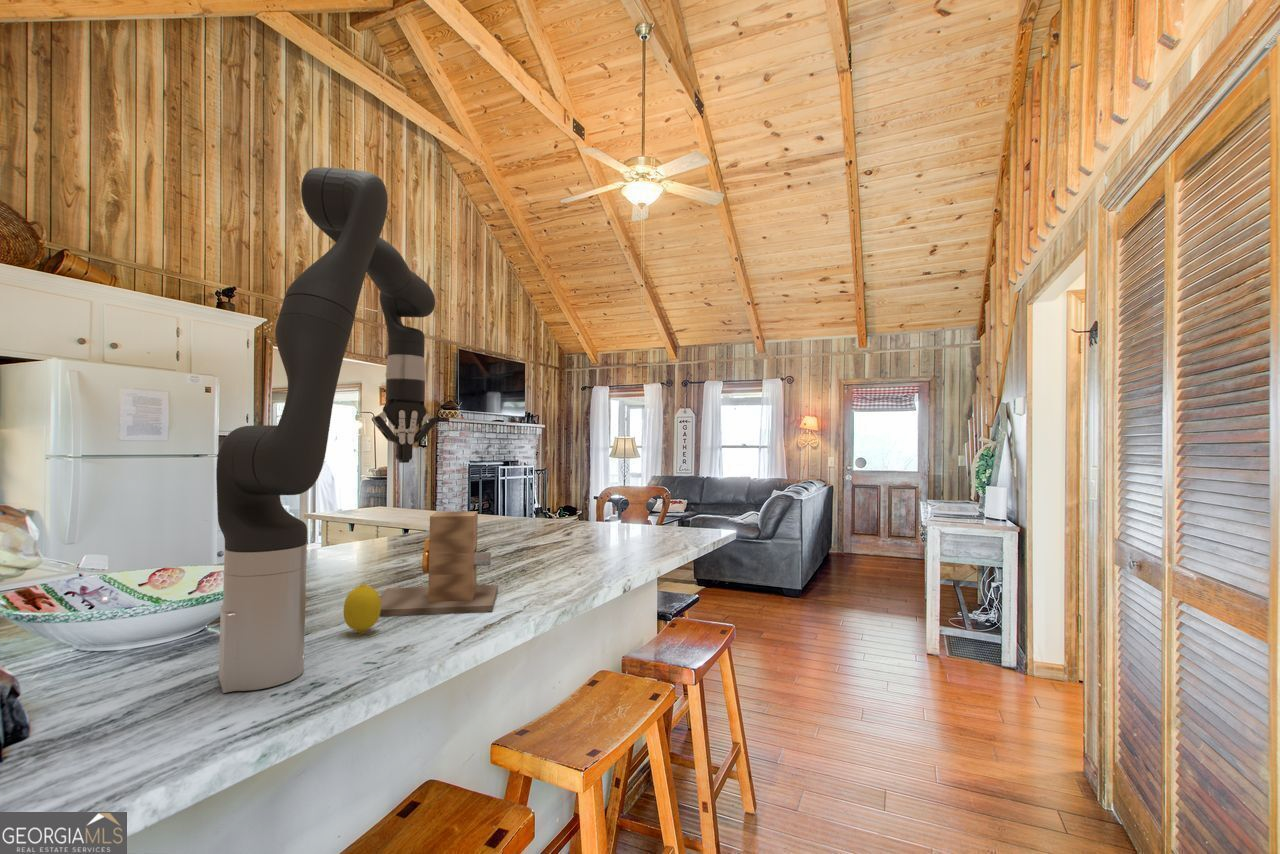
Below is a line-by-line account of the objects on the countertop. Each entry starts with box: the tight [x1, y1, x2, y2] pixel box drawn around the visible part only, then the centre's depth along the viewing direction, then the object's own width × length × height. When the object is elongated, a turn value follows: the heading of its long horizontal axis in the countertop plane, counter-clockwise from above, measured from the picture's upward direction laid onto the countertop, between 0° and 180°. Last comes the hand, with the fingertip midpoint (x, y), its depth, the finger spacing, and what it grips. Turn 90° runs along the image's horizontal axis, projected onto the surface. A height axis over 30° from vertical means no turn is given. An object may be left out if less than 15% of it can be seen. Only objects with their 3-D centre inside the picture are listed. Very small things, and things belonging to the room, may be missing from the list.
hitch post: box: [379, 510, 499, 618], centre depth 114 cm, size 22×16×17 cm
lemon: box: [342, 583, 381, 634], centre depth 95 cm, size 6×6×8 cm
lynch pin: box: [421, 537, 492, 574], centre depth 114 cm, size 12×5×7 cm, turn 100°
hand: (404, 462), depth 120 cm, fingers closed
